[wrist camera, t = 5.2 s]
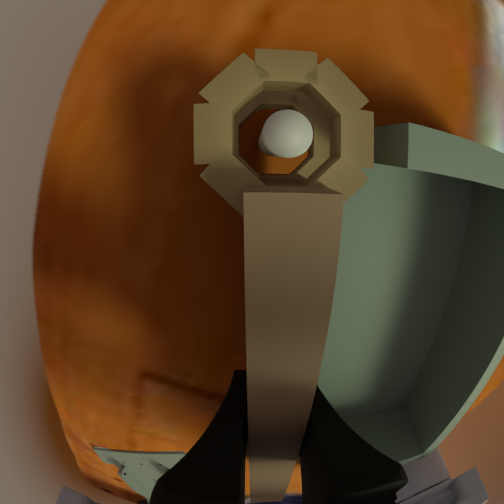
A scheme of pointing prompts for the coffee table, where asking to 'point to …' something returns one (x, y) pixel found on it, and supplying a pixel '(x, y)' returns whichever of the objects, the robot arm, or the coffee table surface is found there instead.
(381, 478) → the robot arm
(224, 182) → the brown gear-headed lever
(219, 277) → the coffee table surface
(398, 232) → the sage green open box
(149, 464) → the metal bracket
